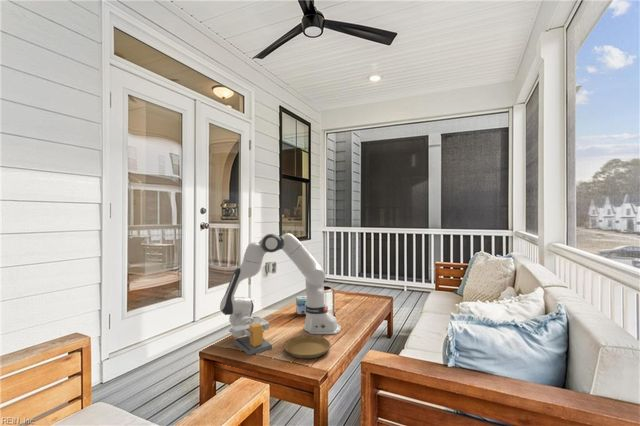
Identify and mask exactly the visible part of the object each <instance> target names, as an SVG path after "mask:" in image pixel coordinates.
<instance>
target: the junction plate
mask: <svg viewBox="0 0 640 426" xmlns="http://www.w3.org/2000/svg"><path fill="white" fill-rule="evenodd" d="M233 343H234V344H235V346H237V347H238V348H240V349H241V351H243V352H244V353H245V354H246V355H247V356H251V355H255V354H258V353H261V352H265V351H269V350H271V349H273V344H271V343H270V342H269V341H267V340H266V339H265V338H263V344H262V345H259V346H255V347H253V346H252V345H251V344H250V336H248V335H244V336H240V337H236V338H234V339H233Z"/></svg>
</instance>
